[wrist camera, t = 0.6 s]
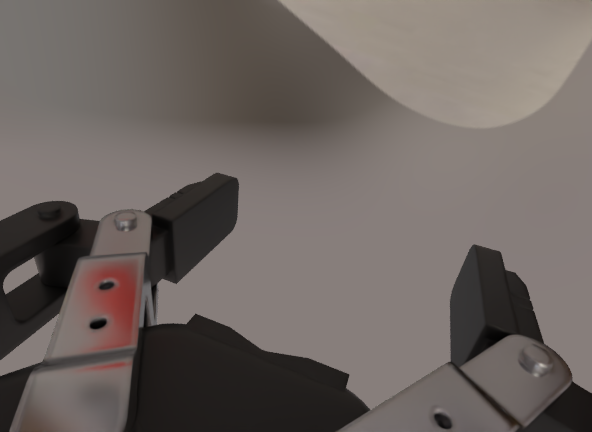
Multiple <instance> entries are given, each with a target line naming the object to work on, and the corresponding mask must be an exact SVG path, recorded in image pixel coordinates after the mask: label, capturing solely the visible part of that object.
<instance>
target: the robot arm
mask: <svg viewBox="0 0 592 432" xmlns="http://www.w3.org/2000/svg"><path fill="white" fill-rule="evenodd" d="M238 190H239V183H238V180H237V178H234V177H231V176H227V175H224V174H220V173H215V174H213V175H212V176H210V177H209V178H207V179H205V180H204V181H202V182H197V183H194V184H190V185H187V186H185V187H184V188H182V189H180V190H179V191H178V192H177V193H174V194H172V195H171V196H170V197H169V198H166V199H164V200H162V201H161V202H160V203H157V204H156V205H154V206H152V207H151V208H149V209H148V210H146V211H141V210H134V209H127V210H119V211H115V212H112V213H110V214H108V215H106V216H104V217H103V218H102V219H101V220H100V221H94V220H84V219H79V214H78V209H77V207H76V206H75V205H74V204H72V203H70V202H65V201H51V202H44V203H40V204H36V205H33V206H31V207H29V208H27V209H25V210H23V211H20V212H18V213H16V214H14V215H12V216H10V217H8V218H6V219H3V220H1V221H0V360H1V359H3V358H4V357H5V356H6V355H7V354H9V353H10V352H11V351H12V350H14V349H15V348H16V347H17V346H19V345H20V344H21V343H22V342H23V341H25V340H26V339H27V338H29V337H30V336H31V335H32V334H34V333H35V332H36V331H37V330H39V329H40V328H41V327H42V326H44V325H45V324H46V323H47V322H49V321H50V320H51V319H52V318H54V317H55V316H56V315H57V314H59V316H58V319H57V322H56V325H55V328H54V331H53V334H52V337H51V340H50V343H49V346H48V348H47V352H46V354H45V357H44V359H43V361H42V362H41V363H38V364H35V365H32V366H29V367H26V368H23V369H20V370H17V371H14V372H11V373H8V374H5V375H2V376H0V432H592V393H590V392H588V391H587V390H585V389H583V388H581V387H580V386H578V385H577V384H575V383H574V382H573V381H572V373H571V371H570V369H569V367H568V365H567V364H566V363H565V361H564V360H563V359H562V358H561V357H560V356H559V355H558V354H557V353H556V352H555V351H554V350H552V349H551V348H549V347H548V346H546V345H545V344H544V342H543V339H542V335H541V332H540V329H539V325H538V322H537V319H536V316H535V313H534V311H533V306H532V303H531V301H530V296H529V293H528V290H527V287H526V285H525V284H524V283H523V281H522V280H521V279H520V278H519V277H518V276H517V275H516V273H514V272H511V271H507V270H505V267H504V263H503V259H502V255H501V252H499V251H496V250H492V249H489V248H485V247H482V246H478V245H473V246H472V247H471V249H470V250H469V252H468V255H467V257H466V259H465V261H464V264H463V266H462V268H461V271H460V273H459V275H458V277H457V279H456V282H455V284H454V287H453V290H452V294H451V299H450V333H451V335H450V339H451V362H448V363H446V364H444V365H442V366H440V367H439V368H437V369H436V370H434V371H432V372H431V373H430V374H428V375H426V376H424V377H423V378H421V379H420V380H418V381H416V382H415V383H413V384H412V385H410V386H409V387H407V388H405V389H404V390H402V391H400V392H399V393H397V394H396V395H394V396H393V397H391V398H389V399H388V400H386V401H384V402H383V403H381V404H380V405H378V406H376V407H375V408H373V409H372V410H370V409H369V408H368V407H367V406H366V405H365V403H364V402H363V401H362V400H360V399H359V398H358V397H357V396H356V395H355V394H353V393H352V392H351V391H349V390H347V389H346V385H347V382H348V378H349V374H347V373H344V372H342V371H339V370H337V369H334V368H331V367H329V366H327V365H324V364H322V363H319V362H316V361H314V360H311V359H309V358H303V357H297V356H291V355H284V354H279V353H273V352H267V351H264V350H261V349H260V348H258V347H257V346H256V345H254V344H252V343H251V342H250V341H248V340H247V339H246V338H244V337H243V336H242V335H240V334H239V333H237V332H236V331H235V330H233V329H232V328H230V327H228V326H225V325H223V324H220V323H218V322H215V321H213V320H210V319H207V318H205V317H203V316H200V315H197V314H195V315H194V316H193V317H192V318H191V320H190V321H189V322H188V323H187V324H174V323H173V324H159V325H157V312H158V282H159V281H160V280H161V279H165V280H168V281H170V282H173V283H176V284H177V283H178V282H179V281H180V280H181V279H182V278H183V277H184V276H185V275H186V274H187V273H188V272H189V271H190V270H191V269H193V267H195V266H196V265H197V264H198V263H199V262H200V261H201V260H202V259H203V258H204V257H205V256H206V255H207V254H208V253H209V252H210V251H212V250H213V249H214V248H215V247H216V246H217V245H218V244H219V243H220V242H221V241H222V240H223V239H224V238H225V237H226V236H227V235H228V234H229V233H231V231H232V230H233V228H234V227H235V224H236V221H237V213H238ZM33 257H34V259H35V262H36V265H37V269H38V272H39V273H38V274H37V275H35V276H34V277H32V278H31V279H29V280H27V281H26V282H24V283H23V284H21V285H20V286H18V287H17V288H15V289H14V290H12V291H11V292H9V293H7V294H6V295H5V293H4V290H3V282H4V279H5V277H6V276H7V275H8V273H10V272H11V271H12V270H13V269H15V268H17V267H18V266H20V265H22V264H23V263H25V262H26V261H28V260H30V259H32V258H33Z"/></svg>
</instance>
